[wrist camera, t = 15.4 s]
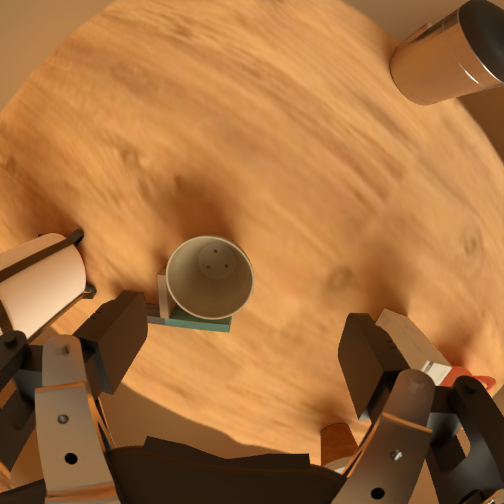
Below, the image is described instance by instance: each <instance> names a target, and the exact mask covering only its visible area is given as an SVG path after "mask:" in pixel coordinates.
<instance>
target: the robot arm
mask: <svg viewBox="0 0 504 504" xmlns="http://www.w3.org/2000/svg"><path fill="white" fill-rule="evenodd" d="M390 71H391V75H392V78H393V80H394V82H395V84H396V86H397V87H398V89H399V90H400V91H401V92H402V93H403V94H404V95H405V96H406V97H407V98H408V99H410V100H411V101H413V102H415V103H417V104H420V105H430V104H434V103H437V102H440V101H444V100H448V99H451V98H455V97H458V96H462V95H465V94H469V93H474V92H477V91H481V90H486V89H490V88H494V87H498V86H503V85H504V10H503V9H501V8H500V7H498V6H496V5H495V4H493V3H491V2H489V1H487V0H470V1H468V2H467V3H465V4H463V5H462V6H461V7H459V8H458V9H456V10H455V11H453V12H452V13H450V14H449V15H447V16H446V17H445V18H443V19H442V20H440V21H439V22H437V23H436V24H435V25H433V24H431V23H426V24H425V25H424V26H422V27H421V28H420V29H418V30H417V31H416V32H415V33H413V34H412V35H411V36H409V37H408V38H407V39H406V40H404V41H403V42H402V43H401V44H399V45H398V46H397V52H396V53H395V54H394V55H393V57H392V59H391V62H390ZM147 332H148V324H147V315H146V305H145V296H144V294H143V293H142V292H136V291H130V290H124V291H123V292H122V293H121V294H120V295H119V296H118V297H117V298H116V299H115V300H111V301H109V302H107V303H104V304H102V305H101V306H100V307H99V308H98V309H97V310H96V311H95V313H93V314H92V315H91V316H90V318H88V319H87V320H86V321H85V322H84V323H83V324H82V325H81V326H80V327H79V328H78V329H77V330H76V331H75V332H74V333H73V335H66V334H64V335H58V336H54V337H52V338H50V339H49V340H48V341H47V342H46V343H45V344H44V346H38V345H29V342H28V340H27V337H26V335H25V333H23V332H22V331H19V330H12V331H8V332H5V333H3V334H2V335H1V336H0V392H1V391H2V389H3V388H4V387H5V386H6V384H7V383H8V382H9V381H10V379H11V380H12V382H13V384H14V386H15V387H16V390H15V391H14V393H13V394H12V396H11V397H10V398H9V400H8V401H7V402H6V404H5V405H4V406H3V408H2V409H1V408H0V504H408V502H409V500H410V497H411V495H412V493H413V490H414V487H415V485H416V482H417V480H418V477H419V474H420V472H421V469H422V466H423V462H424V459H426V462H427V465H428V468H429V471H430V474H431V477H432V481H433V484H434V487H435V491H436V494H437V497H438V501H439V504H504V417H503V415H502V413H501V412H500V410H499V409H498V407H497V406H496V404H495V402H494V401H493V399H492V398H491V396H490V395H489V393H488V392H487V390H486V389H485V388H484V386H483V385H482V383H481V382H480V381H478V380H477V379H475V378H474V377H471V376H467V375H462V376H459V377H457V378H456V380H455V381H454V383H453V385H452V386H451V387H446V386H436V385H435V383H434V381H433V379H432V378H431V377H430V376H429V375H428V374H426V373H425V372H423V371H420V370H417V369H411V368H410V366H409V364H408V363H407V361H406V360H405V358H404V357H403V355H402V353H401V352H400V350H399V349H397V346H396V344H395V343H394V342H393V340H392V338H391V336H390V335H389V333H388V332H386V331H385V330H384V329H383V328H381V327H380V326H376V324H375V323H374V321H373V320H372V318H371V317H370V315H369V314H367V313H350V314H349V315H348V317H347V319H346V323H345V327H344V330H343V333H342V337H341V340H340V343H339V348H338V359H339V363H340V365H341V368H342V371H343V374H344V377H345V380H346V383H347V386H348V389H349V392H350V395H351V398H352V401H353V404H354V407H355V411H356V414H357V417H358V420H367V419H370V420H371V423H372V424H371V425H370V427H369V428H368V430H367V432H366V434H365V436H364V437H363V439H362V441H361V443H360V444H359V446H358V448H357V450H356V451H355V453H354V455H353V456H352V458H351V459H350V461H349V463H348V464H347V466H346V467H345V468H344V470H343V471H342V473H341V474H340V473H338V472H336V471H333V470H331V469H328V468H326V467H322V466H319V465H315V464H310V459H309V453H308V454H264V455H257V456H250V457H242V458H234V459H224V458H221V457H218V456H215V455H212V454H209V453H206V452H203V451H201V450H198V449H196V448H193V447H190V446H188V445H185V444H181V443H175V442H171V441H166V440H162V439H158V438H154V437H150V436H147V438H146V441H145V444H144V446H143V445H135V446H125V447H119V448H116V446H115V444H114V442H113V439H112V437H111V434H110V431H109V428H108V425H107V422H106V419H105V416H104V413H103V409H102V405H101V402H100V399H99V395H100V393H101V392H105V393H108V394H112V395H113V394H114V392H115V391H116V389H117V387H118V386H119V384H120V382H121V380H122V379H123V377H124V375H125V374H126V372H127V370H128V368H129V367H130V365H131V363H132V362H133V360H134V358H135V357H136V355H137V353H138V352H139V350H140V348H141V347H142V345H143V344H144V342H145V340H146V337H147ZM35 426H37V436H38V445H39V452H40V458H41V464H42V470H43V475H44V478H43V479H41V480H38V481H35V482H32V483H29V484H27V485H24V486H21V487H17V488H14V485H13V484H12V483H11V477H10V472H11V470H12V468H13V466H14V464H15V462H16V460H17V458H18V456H19V454H20V452H21V451H22V449H23V447H24V445H25V443H26V442H27V440H28V438H29V436H30V435H31V433H32V431H33V430H34V428H35ZM462 427H463V429H464V431H465V433H466V435H467V437H468V439H469V441H470V445H471V448H470V452H469V454H468V456H467V457H466V456H465V454H464V452H463V449H462V447H461V446H460V443H459V440H458V438H457V436H456V434H457V433H458V432H459V430H460V429H461V428H462Z"/></svg>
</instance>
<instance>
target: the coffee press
mask: <svg viewBox="0 0 504 504" xmlns="http://www.w3.org/2000/svg"><path fill="white" fill-rule="evenodd" d="M83 237H84V234H83V233H82V232H81V231H80V230H79V229H77V230H76V231H75V232H74V233H72V234H71V235H70V236H69V237H68V238H66V237H64V236H62V235H60V234H56V233H49V234H46V235H42V234H40V235H38V238H35V239H33V240H30V241H28V242H26V243H23V244H21V245H19V246H16V247H14V248H12V249H10V250H7V251H5V252H3V253H1V254H0V336H1V335H2V334H3V333H5V332H8V331H12V330H19V331H22V332H23V333H25V335H26V337H27V340H28V342H29V344H30V343H31V342H32V341H34V340H35V339H36V338H37V337H38V336H39V335H40V334H41V333H42V332H43V331H44V330H46V329H47V327H49V326H50V325H51V324H52V323H53V322H55V321H56V320H57V319H58V318H59V317H60V316H61V315H63V314H64V313H65V312H66V311H67V310H68V309H70V308H71V307H72V306H73V305H74V304H76V303H77V302H78V301H79V300H81V299H93V298H94V296H95V294H96V292H97V291H96V289H95V288H94V287H92V286H88V285H85V284H86V272H85V267H84V263H83V260H82V258H81V256H80V254H79V252H78V250H77V249H76V246H77V245H78V243H79V242H80V241H81V240H82V239H83ZM84 291H86V292H90V293H83V292H84Z"/></svg>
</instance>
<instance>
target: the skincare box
mask: <svg viewBox="0 0 504 504" xmlns="http://www.w3.org/2000/svg"><path fill="white" fill-rule="evenodd" d="M375 324H376V326H380V327H381V328H383V329H384V330H385V331H386V332H388V333H389V335H390V336H391V338H392V340H393V342H394V343H395V344H396V346H397V349H399V350H400V352H401V353H402V355H403V357H404V358H405V360H406V361H407V363H408V364H409V366H410V368H411V369H417V370H420V371H423V372H425V373H426V374H428V375H429V376H430V377H431V378H432V379H433V381H434V383H435V385H436V386H439V385H440V383H441V382H442V381H443V379H444V378H445V377H446V375H447V374H448V373H449V371H450V370H451V369H452V366H451V365H450V363H449V362H448V361H447V360H446V359H445V357H444V356H443V355H442V354H441V353H440V351H439V350H438V349H437V348H436V347H435V346H434V345H433V344H432V343H431V342H430V340H429V339H428V338H427V337H426V336H425V335H424V334H423V333H422V332H421V330H420V329H419V328H418V327H417V326H416V325H415V324H414V323H413V322H412V321H411V320H410V319H409V318H408V317H406V316H403V315H401V314H398V313H396V312H393V311H391V310H388V309H386V308H384V309H383V311H382V313H381V314H380V316H379V318H378V319H377V321H376V323H375Z"/></svg>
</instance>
